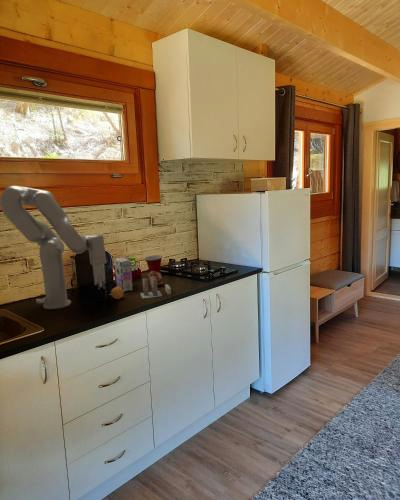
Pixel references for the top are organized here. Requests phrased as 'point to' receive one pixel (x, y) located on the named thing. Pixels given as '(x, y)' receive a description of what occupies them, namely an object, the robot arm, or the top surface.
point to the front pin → (145, 287)
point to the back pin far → (151, 283)
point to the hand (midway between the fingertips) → (102, 296)
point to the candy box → (123, 274)
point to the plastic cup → (154, 263)
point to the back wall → (168, 289)
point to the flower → (156, 275)
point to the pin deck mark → (150, 295)
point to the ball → (117, 292)
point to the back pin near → (154, 287)
